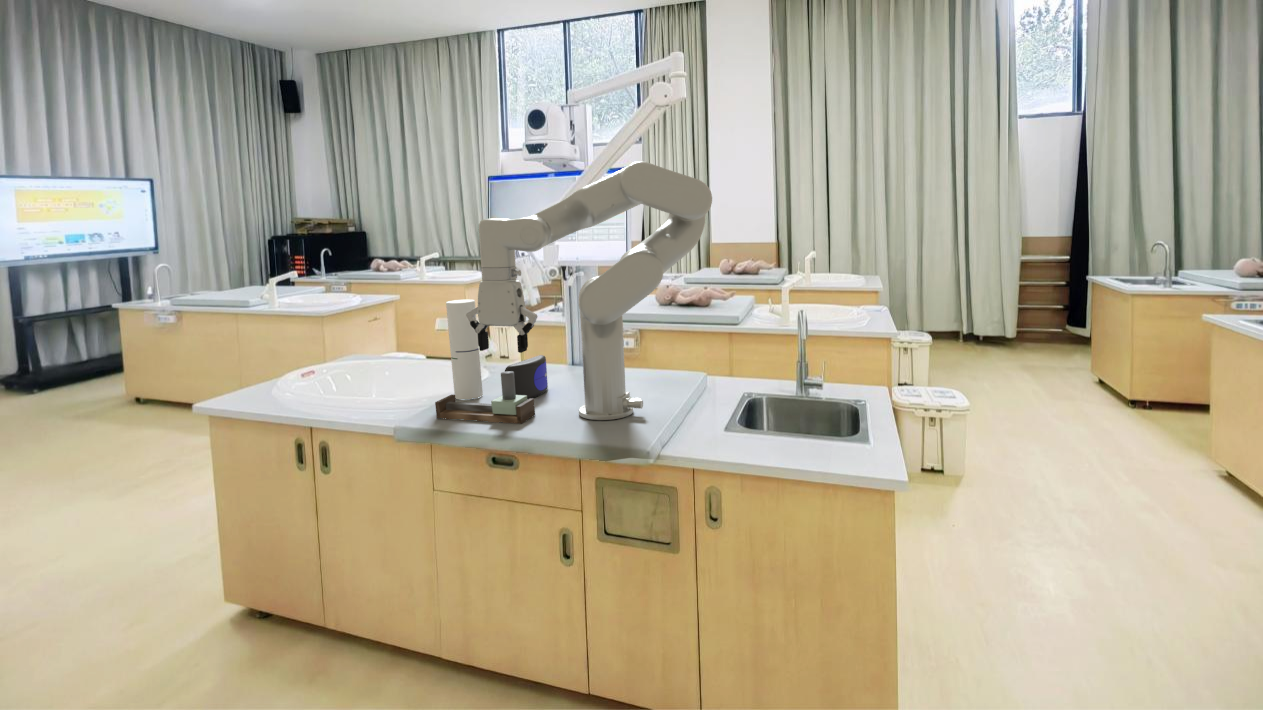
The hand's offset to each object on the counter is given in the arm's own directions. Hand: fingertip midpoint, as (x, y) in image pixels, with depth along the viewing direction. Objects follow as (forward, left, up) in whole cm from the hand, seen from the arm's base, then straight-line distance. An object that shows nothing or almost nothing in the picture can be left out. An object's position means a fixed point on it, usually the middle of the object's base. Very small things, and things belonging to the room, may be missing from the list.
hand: (503, 350), depth 165 cm
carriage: (-1, 0, -14) cm, 14 cm away
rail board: (+6, 0, -16) cm, 17 cm away
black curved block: (+5, -20, -16) cm, 26 cm away
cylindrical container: (+20, -16, -16) cm, 30 cm away
